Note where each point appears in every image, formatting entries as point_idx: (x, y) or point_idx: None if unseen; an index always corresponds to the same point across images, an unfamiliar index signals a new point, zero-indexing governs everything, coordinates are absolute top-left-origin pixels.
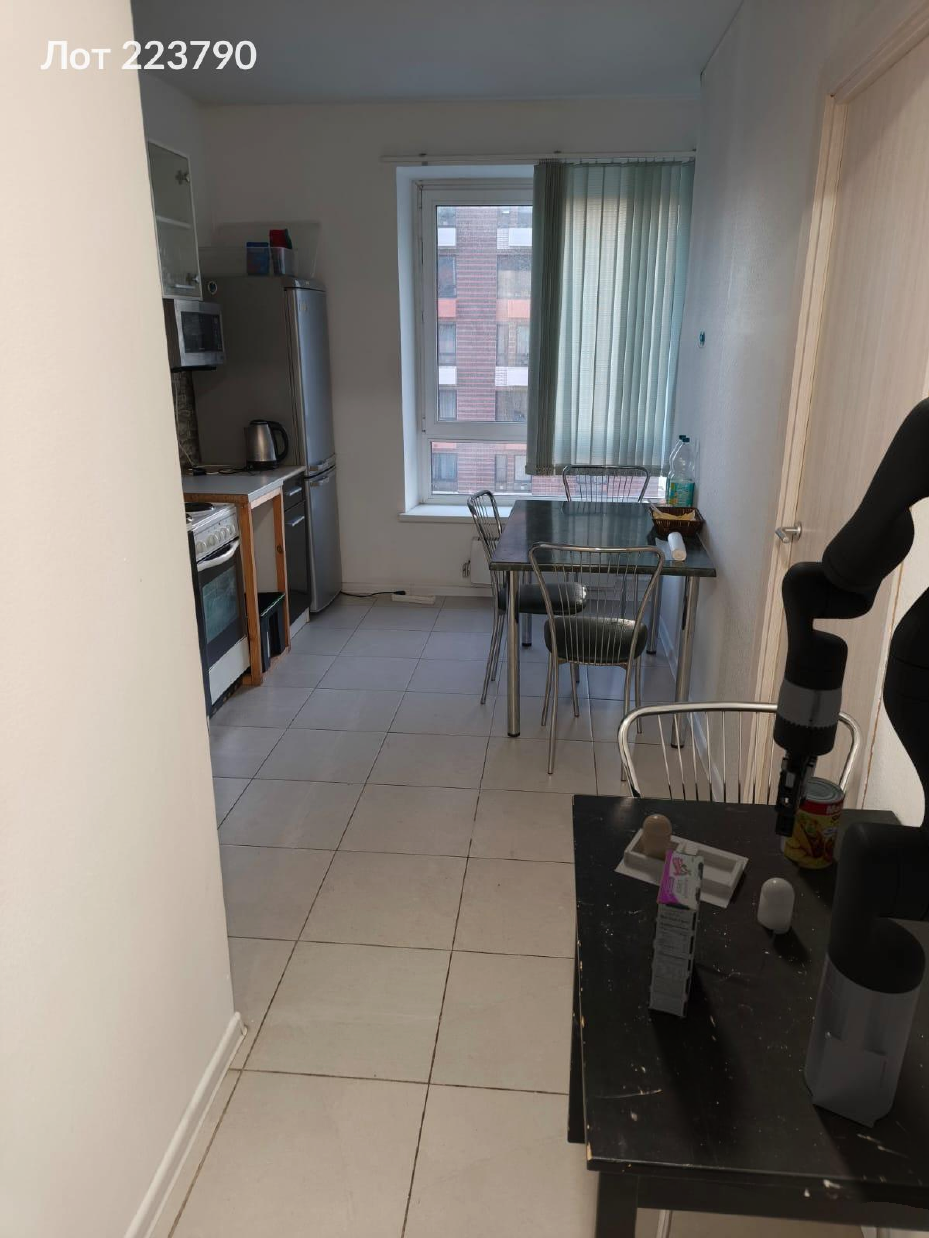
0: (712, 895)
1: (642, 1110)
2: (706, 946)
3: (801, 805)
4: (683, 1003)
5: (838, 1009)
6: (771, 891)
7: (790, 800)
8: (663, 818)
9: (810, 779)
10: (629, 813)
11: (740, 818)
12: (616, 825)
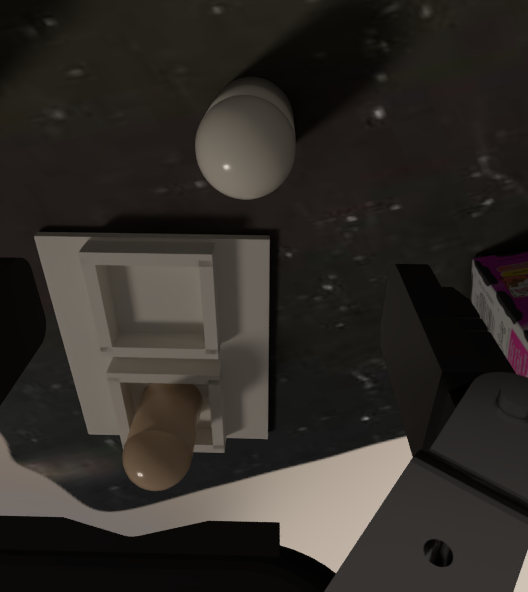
0: (238, 275)
1: None
2: (414, 242)
3: (23, 270)
4: None
5: None
6: (284, 173)
7: (34, 335)
8: (147, 472)
9: None
10: (58, 459)
11: None
12: (115, 465)
